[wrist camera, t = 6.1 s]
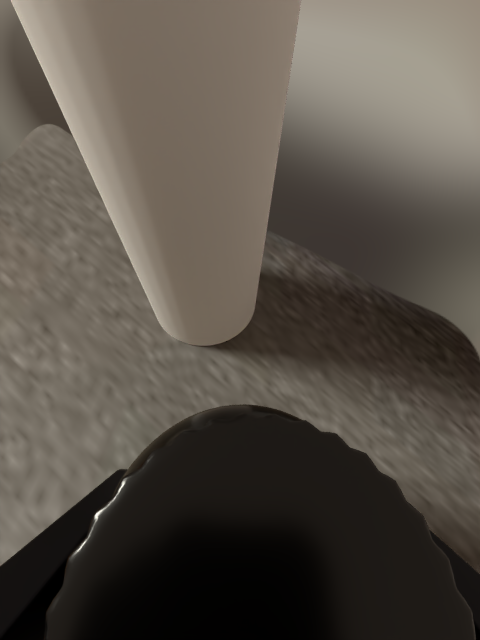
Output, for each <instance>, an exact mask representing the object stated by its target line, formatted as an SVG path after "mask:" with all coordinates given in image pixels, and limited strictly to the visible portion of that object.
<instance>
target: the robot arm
mask: <svg viewBox="0 0 480 640" xmlns="http://www.w3.org/2000/svg"><path fill="white" fill-rule="evenodd" d="M126 471H127V469H119V470H117V471H116V472H115V473H114V474H112V475H111V476H110V477H109V478H107V479H106V480H105V481H104V482H103V483H101V484H100V485H99V486H98V487H97V488H95V489H94V490H93V491H92V492H90V493H89V494H88V495H87V496H86V497H84V498H83V499H82V500H81V501H79V502H78V503H77V504H76V505H75V506H73V507H72V508H71V509H70V510H68V511H67V512H66V513H65V514H64V515H62V516H61V517H60V518H59V519H57V520H56V521H55V522H54V523H53V524H51V525H50V526H49V527H48V528H46V529H45V530H44V531H43V532H42V533H40V534H39V535H38V536H37V537H35V538H34V539H33V540H32V541H31V542H29V543H28V544H27V545H26V546H24V547H23V548H22V549H21V550H20V551H18V552H17V553H16V554H15V555H14V556H12V557H11V558H10V559H9V560H7V561H6V562H5V563H4V564H3V565H1V566H0V640H44V625H45V616H46V611H47V609H48V607H49V606H50V604H51V602H52V600H53V599H54V597H55V596H56V595H57V594H58V592H59V591H60V589H61V587H62V585H63V581H64V575H65V568H66V564H67V560H68V557H69V556H70V554H71V553H72V552H73V551H74V549H75V548H76V547H77V546H78V545H79V544H80V543H81V542H82V541H83V540H84V539H85V538H86V536H87V533H88V531H89V526H90V523H91V520H92V518H93V515H94V513H95V512H96V511H97V510H98V509H99V508H100V507H101V506H103V505H104V504H105V503H107V502H108V501H109V499H110V497H111V495H112V493H113V491H114V490H115V488H116V486H117V485H118V483H119V482H120V480H121V478H122V477H123V475H124V474H125V473H126ZM429 531H430V530H429ZM430 534H431V537H432V540H433V541H434V542H435V543H436V545H437V546H438V547H439V548H441V549H442V551H443V552H444V553H445V555H446V556H447V557H448V558H449V560H450V564H451V567H452V571H453V575H454V580H455V584H456V587H457V589H458V590H459V592H460V594H461V595H462V596H463V597H464V598H465V600H466V602H467V604H468V605H469V607H470V609H471V610H472V614H473V619H474V625H475V635H476V640H480V574H479V573H478V572H477V571H476V570H474V569H473V568H472V567H471V566H470V565H469V564H468V563H466V562H465V561H464V560H463V559H462V558H461V557H460V556H459V555H457V554H456V553H455V552H454V551H453V550H452V549H451V548H449V547H448V546H447V545H446V544H445V543H444V542H443V541H442V540H440V539H439V538H438V537H437V536H436V535H435V534H434V533H432V532H431V531H430Z"/></svg>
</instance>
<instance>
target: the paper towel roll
mask: <svg viewBox="0 0 480 640" xmlns="http://www.w3.org/2000/svg"><path fill="white" fill-rule="evenodd" d="M11 2H12V4H13V6H14V8H15V10H16V13H17V15H18V17H19V19H20V22H21V24H22V26H23V28H24V30H25V32H26V34H27V37H28V39H29V41H30V43H31V45H32V48H33V50H34V52H35V54H36V56H37V58H38V61H39V63H40V65H41V67H42V69H43V71H44V74H45V76H46V78H47V80H48V82H49V85H50V87H51V89H52V91H53V93H54V95H55V98H56V100H57V102H58V104H59V106H60V108H61V110H62V113H63V115H64V117H65V119H66V121H67V123H68V125H69V128H70V130H71V132H72V134H73V137H74V139H75V141H76V143H77V145H78V147H79V150H80V152H81V154H82V156H83V158H84V161H85V163H86V165H87V167H88V169H89V171H90V174H91V176H92V178H93V180H94V182H95V184H96V187H97V189H98V191H99V193H100V195H101V197H102V200H103V202H104V204H105V206H106V208H107V210H108V213H109V215H110V217H111V219H112V221H113V224H114V226H115V228H116V230H117V232H118V234H119V237H120V239H121V241H122V243H123V245H124V247H125V250H126V252H127V254H128V256H129V258H130V260H131V263H132V265H133V267H134V269H135V271H136V273H137V276H138V278H139V280H140V282H141V284H142V286H143V289H144V291H145V293H146V295H147V297H148V300H149V302H150V304H151V306H152V308H153V310H154V313H155V315H156V317H157V319H158V321H159V323H160V325H161V326H162V328H163V329H164V330H165V331H166V332H167V333H168V334H169V335H171V336H172V337H174V338H175V339H177V340H179V341H181V342H184V343H187V344H191V345H197V346H209V345H215V344H220V343H223V342H225V341H228V340H230V339H232V338H233V337H235V336H236V335H238V334H239V333H240V332H241V331H243V330H244V329H245V327H246V326H247V325H248V323H249V322H250V320H251V318H252V316H253V313H254V310H255V304H256V297H257V290H258V284H259V277H260V270H261V264H262V257H263V250H264V244H265V237H266V230H267V223H268V216H269V211H270V203H271V197H272V190H273V184H274V177H275V171H276V164H277V157H278V151H279V144H280V137H281V131H282V124H283V117H284V110H285V104H286V97H287V90H288V84H289V77H290V71H291V64H292V57H293V50H294V44H295V37H296V31H297V24H298V17H299V11H300V3H301V0H11Z"/></svg>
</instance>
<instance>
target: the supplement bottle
mask: <svg viewBox="0 0 480 640" xmlns="http://www.w3.org/2000/svg"><path fill="white" fill-rule="evenodd" d="M44 640H476V635H475V625H474V619H473V614H472V610H471V609H470V607H469V605H468V604H467V602H466V600H465V598H464V597H463V596H462V595H461V594H460V592H459V590H458V589H457V587H456V584H455V580H454V575H453V571H452V567H451V564H450V560H449V558H448V557H447V556H446V555H445V553H444V552H443V551H442V549H441V548H439V547H438V546H437V545H436V543H435V542H434V541H433V540H432V537H431V534H430V531H429V528H428V526H427V523H426V521H425V519H424V516H423V515H422V514H421V513H420V512H419V511H418V510H417V509H415V508H414V507H413V506H412V505H411V504H409V503H408V502H407V501H406V500H405V498H404V495H403V493H402V491H401V489H400V488H399V486H398V484H397V483H396V481H395V480H393V479H392V478H390V477H389V476H387V475H385V474H383V473H381V472H380V471H378V469H377V468H376V466H375V465H374V463H373V462H372V460H371V459H370V458H369V456H368V455H367V454H366V453H364V452H361V451H359V450H356V449H352V448H350V447H349V446H348V445H347V444H346V443H345V442H344V441H343V440H342V439H341V438H340V437H339V436H338V435H337V434H336V433H330V432H321V431H319V430H318V429H317V428H316V427H314V426H313V425H312V424H310V423H309V422H307V421H306V420H301V419H299V418H297V417H295V416H293V415H291V414H288V413H286V412H283V411H280V410H277V409H273V408H269V407H264V406H258V405H229V406H221V407H217V408H212V409H209V410H206V411H203V412H200V413H197V414H195V415H193V416H190V417H188V418H186V419H184V420H182V421H181V422H179V423H177V424H175V425H174V426H172V427H171V428H169V429H168V430H167V431H165V432H164V433H162V434H161V435H160V436H159V437H158V438H156V439H155V440H154V441H153V442H152V443H151V444H150V445H149V446H148V447H147V448H146V449H145V450H144V451H143V452H142V453H141V454H140V455H139V456H138V457H137V459H136V460H135V461H134V462H133V463H132V464H131V466H130V467H129V469H128V470H127V471H126V473H125V474H124V475H123V477H122V478H121V480H120V482H119V483H118V485H117V486H116V488H115V490H114V491H113V493H112V495H111V497H110V499H109V501H108V502H107V503H105V504H104V505H103V506H101V507H100V508H99V509H98V510H97V511H96V512H95V513H94V515H93V518H92V520H91V523H90V526H89V531H88V533H87V536H86V538H85V539H84V540H83V541H82V542H81V543H80V544H79V545H78V546H77V547H76V548H75V549H74V551H73V552H72V553H71V554H70V556H69V557H68V560H67V564H66V568H65V575H64V581H63V585H62V587H61V589H60V591H59V592H58V594H57V595H56V596H55V597H54V599H53V600H52V602H51V604H50V606H49V607H48V609H47V611H46V616H45V625H44Z"/></svg>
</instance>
